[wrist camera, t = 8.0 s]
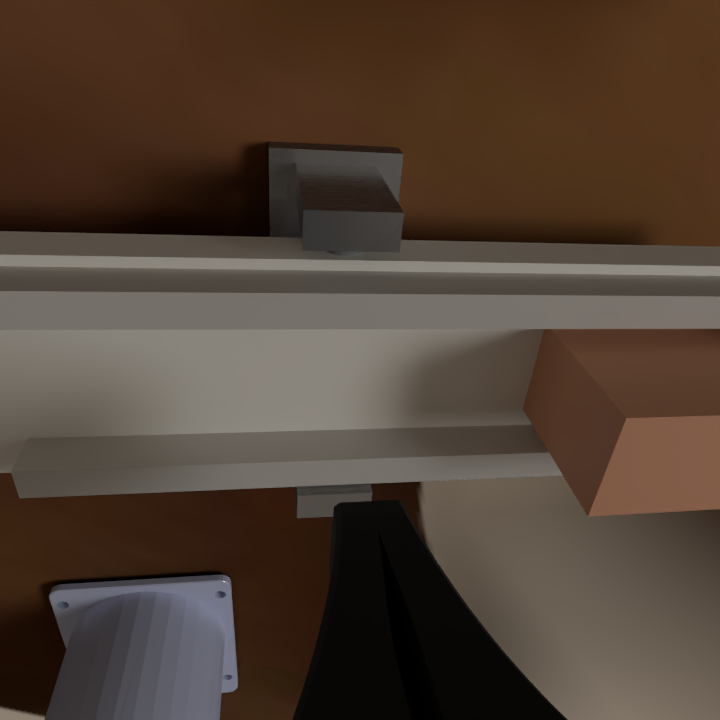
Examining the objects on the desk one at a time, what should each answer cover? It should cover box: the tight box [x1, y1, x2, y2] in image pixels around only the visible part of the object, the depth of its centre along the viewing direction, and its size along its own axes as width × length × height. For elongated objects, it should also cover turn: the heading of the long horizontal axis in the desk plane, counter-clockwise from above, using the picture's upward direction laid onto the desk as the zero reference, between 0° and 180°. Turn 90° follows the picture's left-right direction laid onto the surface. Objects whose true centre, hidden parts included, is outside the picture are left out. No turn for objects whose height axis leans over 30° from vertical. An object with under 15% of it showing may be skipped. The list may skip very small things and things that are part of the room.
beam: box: [0, 231, 720, 498], centre depth 16 cm, size 33×8×5 cm, turn 86°
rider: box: [523, 329, 720, 516], centre depth 17 cm, size 6×3×5 cm, turn 86°
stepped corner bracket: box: [269, 142, 404, 518], centre depth 18 cm, size 31×11×5 cm, turn 86°
